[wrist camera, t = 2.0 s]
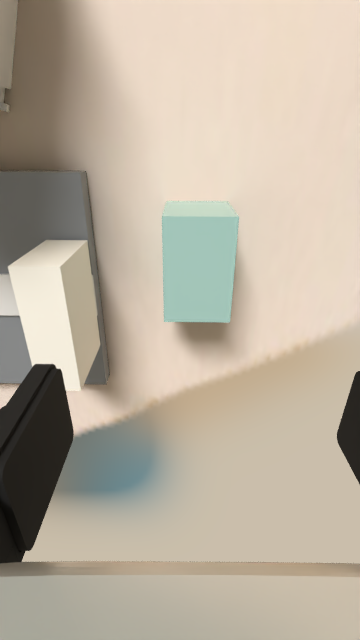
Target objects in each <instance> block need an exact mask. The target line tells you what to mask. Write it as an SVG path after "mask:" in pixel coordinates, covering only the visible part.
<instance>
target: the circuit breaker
mask: <svg viewBox="0 0 360 640" xmlns="http://www.w3.org/2000/svg"><path fill="white" fill-rule="evenodd" d="M17 11H18V0H0V110H3V111H5V112H9V108H10V105H8V104H6V103H4V94H5V88H8V89H11V84H12V72H13V60H14V47H15V35H16V23H17Z"/></svg>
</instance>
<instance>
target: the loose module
mask: <svg viewBox="0 0 360 640" xmlns="http://www.w3.org/2000/svg"><path fill="white" fill-rule="evenodd" d="M238 223H239V216H238V215H237V213H236V212H235V211H234V209H233V208H232V207H231V206H230V204H229V203H228V202H227V201H167V202H166V205H165V208H164V211H163V215H162V242H163V292H164V322H230V317H231V305H232V294H233V282H234V270H235V258H236V247H237V235H238Z"/></svg>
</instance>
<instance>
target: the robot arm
mask: <svg viewBox="0 0 360 640" xmlns="http://www.w3.org/2000/svg"><path fill="white" fill-rule="evenodd" d="M337 440H338V444H339V446H340V448H341V450H342V452H343V453H344V455H345V457H346V459H347V461H348V463H349V465H350V467H351V469H352V471H353V472H354V474H355V476H356V478H357V480H358V482H359V484H360V371H358V372H356V374H355V377H354V380H353V383H352V387H351V390H350V393H349V396H348V399H347V403H346V406H345V409H344V413H343V416H342V419H341V422H340V425H339V429H338V432H337ZM72 441H73V426H72V421H71V416H70V411H69V405H68V400H67V395H66V390H65V385H64V380H63V374H62V371H61V369H57V368H56V366H55V365H54V364H35V365H34V366H33V367H32V368H31V370H30V371H29V373H28V374H27V376H26V377H25V379H24V380H23V381H22V383H21V384H20V386H19V387H18V389H17V390H16V392H15V393H14V395H13V396H12V398H11V399H10V401H9V402H8V403H7V405H6V406H4V407H2V408H1V409H0V640H360V564H346V563H274V562H273V563H271V562H155V561H153V562H152V561H151V562H150V561H147V562H146V561H141V562H139V561H65V562H64V561H63V562H21V561H22V559H23V556H24V553H25V551H29V550H31V549H32V547H33V545H34V543H35V540H36V538H37V535H38V532H39V530H40V527H41V524H42V521H43V519H44V516H45V513H46V511H47V508H48V505H49V503H50V500H51V497H52V494H53V492H54V489H55V487H56V484H57V481H58V478H59V476H60V473H61V471H62V468H63V465H64V462H65V460H66V457H67V454H68V452H69V449H70V447H71V444H72Z"/></svg>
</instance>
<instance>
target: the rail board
mask: <svg viewBox="0 0 360 640" xmlns="http://www.w3.org/2000/svg"><path fill="white" fill-rule="evenodd" d="M35 364H54V365H55V366H56V368H57V369H61V371H62V374H63V380H64V385H65V390H66V391H81V390H82V388H83V385H84V384H107V381H108V378H109V375H110V374H109V365H108V357H107V348H106V339H105V331H104V322H103V314H102V305H101V296H100V288H99V279H98V271H97V262H96V253H95V245H94V236H93V228H92V219H91V210H90V202H89V193H88V184H87V176H86V171H0V383H22V381H23V380H24V379H25V377H26V376H27V374H28V373H29V371H30V370H31V368H32V367H33V366H34V365H35Z"/></svg>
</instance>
